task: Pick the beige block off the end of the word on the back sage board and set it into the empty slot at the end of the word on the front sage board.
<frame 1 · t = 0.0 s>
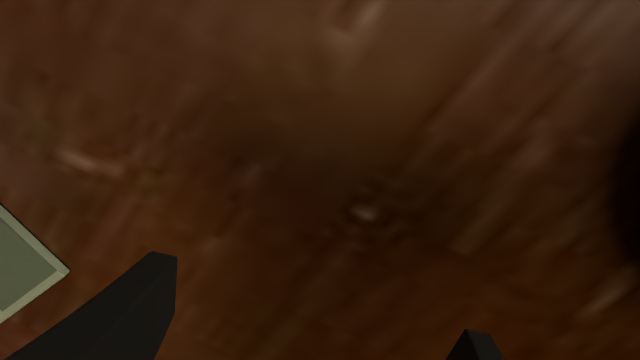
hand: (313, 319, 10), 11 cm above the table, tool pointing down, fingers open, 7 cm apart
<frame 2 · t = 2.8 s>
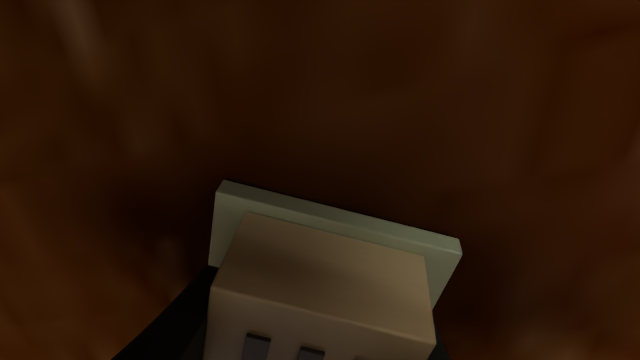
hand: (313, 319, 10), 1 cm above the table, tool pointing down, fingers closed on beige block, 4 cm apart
beige block: (315, 295, 11), point 1 cm above the table, touching gripper, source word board
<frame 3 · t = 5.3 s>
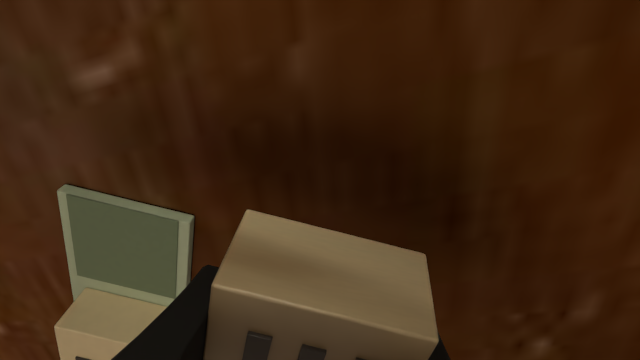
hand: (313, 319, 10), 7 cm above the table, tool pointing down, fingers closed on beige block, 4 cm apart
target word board: (134, 315, 23), on the table
beige block: (317, 293, 11), point 7 cm above the table, touching gripper
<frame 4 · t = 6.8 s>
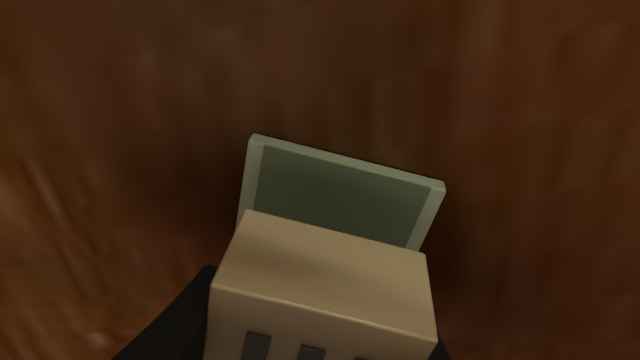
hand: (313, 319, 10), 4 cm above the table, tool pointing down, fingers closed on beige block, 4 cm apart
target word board: (298, 324, 17), on the table
beige block: (316, 293, 11), point 3 cm above the table, touching gripper
when the fingers open (1 cm above the table, at t = 8.0 s): beige block stays where it is, resting on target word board.
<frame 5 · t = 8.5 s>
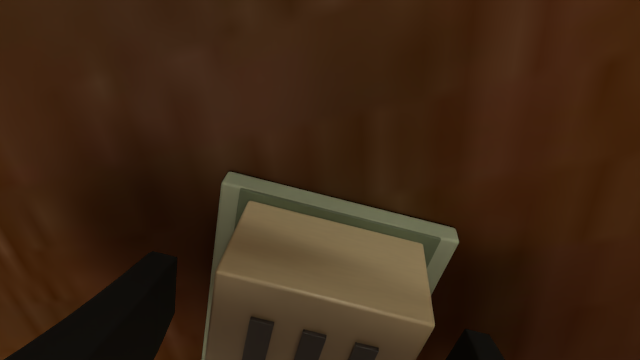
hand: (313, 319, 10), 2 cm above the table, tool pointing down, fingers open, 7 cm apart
beige block: (317, 283, 11), point 1 cm above the table, touching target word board
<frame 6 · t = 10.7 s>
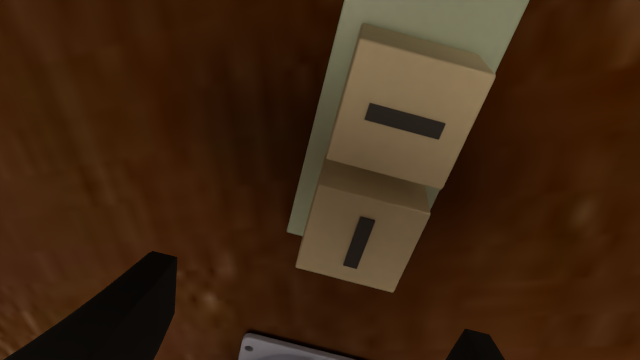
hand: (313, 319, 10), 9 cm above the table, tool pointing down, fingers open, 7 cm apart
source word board: (399, 90, 16), on the table
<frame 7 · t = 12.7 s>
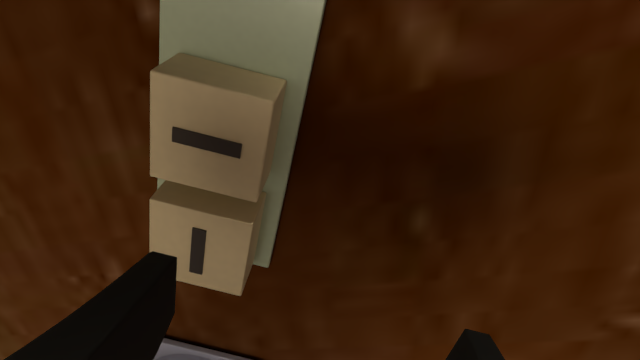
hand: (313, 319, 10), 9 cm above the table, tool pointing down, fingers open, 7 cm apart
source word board: (231, 110, 18), on the table
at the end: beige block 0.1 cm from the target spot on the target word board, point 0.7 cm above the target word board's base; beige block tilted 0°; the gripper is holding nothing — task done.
